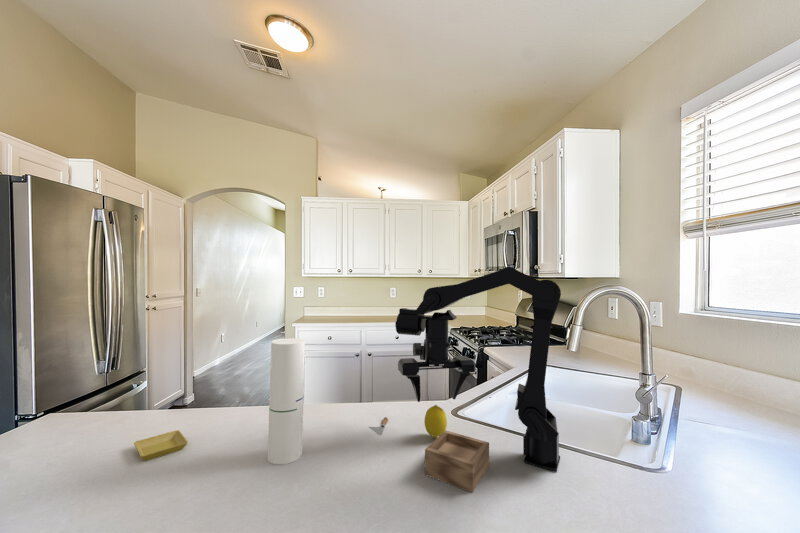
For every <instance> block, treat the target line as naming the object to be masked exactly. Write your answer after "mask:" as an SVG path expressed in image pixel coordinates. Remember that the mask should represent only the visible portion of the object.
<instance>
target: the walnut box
mask: <svg viewBox="0 0 800 533" xmlns="http://www.w3.org/2000/svg"><path fill="white" fill-rule="evenodd" d="M489 468H490V442H488V441H485V440H481V439H478V438H473V437H472V436H467V435H464V434H460V433H456V432H453V431H449V430H445V431H444V432H443V433H442V434H441V435H440V436H438V437H437V438H435V440H433V441H432V442H431V443H430V444H429V445H428V446H426V448H425V449H424V475H425V476H427V475H428V476H427V477H430V476H431V477H430V478H433V477H434V478H433V479H435V478H436V480H438V479H439V480H438V481H440V482H441V481H442V482H443V481H444V483H446V484H448V483H449V484H448V485H451V486H454V487H455V488H456V487H457V488H460V489H462V490H464V491H468V492H470V493H474V491H475V490H476V488H477V487H478V485H479V483H480V482H481V480H482V479H483V477H484V476H485V474H486V473H487V471H488V469H489Z"/></svg>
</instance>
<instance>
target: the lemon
mask: <svg viewBox="0 0 800 533" xmlns="http://www.w3.org/2000/svg"><path fill="white" fill-rule="evenodd" d="M447 425H448V419H447V415H446V411H445V410H444V409H443V408H442V407H441V406H438V405H437V404H434V405H433V406H430V407H429V408H428V409H427V411H426V413H425V416H424V427H425V429H426V432H427V433H428V434H429V435H430V436H432V437H433V438H434V439H437V438H438V437H439V436H440V435H441V434H442V433H443V432H444V431H447V430H446V429H447V428H448V427H447Z"/></svg>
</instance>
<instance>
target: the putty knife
mask: <svg viewBox="0 0 800 533" xmlns="http://www.w3.org/2000/svg"><path fill="white" fill-rule="evenodd" d="M388 421H389V418H388V417H387V416H385V417H383V419H382V423H381V425H380V426H368V428H369V429H370V430H371V431H373V432H374V433H375V434H377V435H378V436H381V437H382V435H383V432H384V429H385V427H386V425H387V423H388Z"/></svg>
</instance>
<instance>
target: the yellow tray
mask: <svg viewBox="0 0 800 533" xmlns="http://www.w3.org/2000/svg"><path fill="white" fill-rule="evenodd" d="M188 443H189V441H188V439H187V438H186V437H185V436H184V435H183V434H182V432H181V431H180V429H179V430H174V431H170V432H166V433H161V434H158V435H155V436H150V437H147V438H143V439H140V440H137V441H134V443H133V444H134V446H135V447H136V450H137V452H138V454H139V457H140V458H141V459H142V460H143V461H145V462H148V461H150V460H154V459H157V458H159V457H163V456H167V455H169V454H174V453H176V452H179V451H182V450H183V449H184V448H185V447H186V446H187V445H188Z"/></svg>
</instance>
